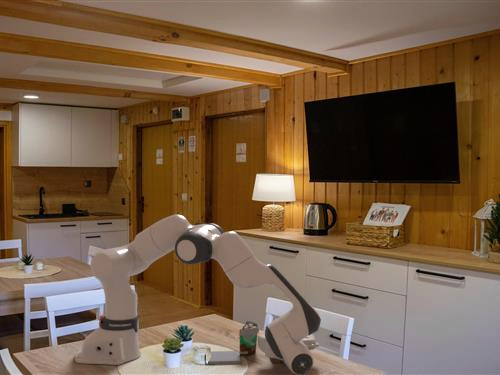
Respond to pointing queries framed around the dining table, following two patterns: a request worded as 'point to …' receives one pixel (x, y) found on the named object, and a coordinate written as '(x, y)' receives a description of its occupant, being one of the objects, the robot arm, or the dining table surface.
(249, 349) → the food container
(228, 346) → the dining table surface
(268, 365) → the dining table surface
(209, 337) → the dining table surface
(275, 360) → the board
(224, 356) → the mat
